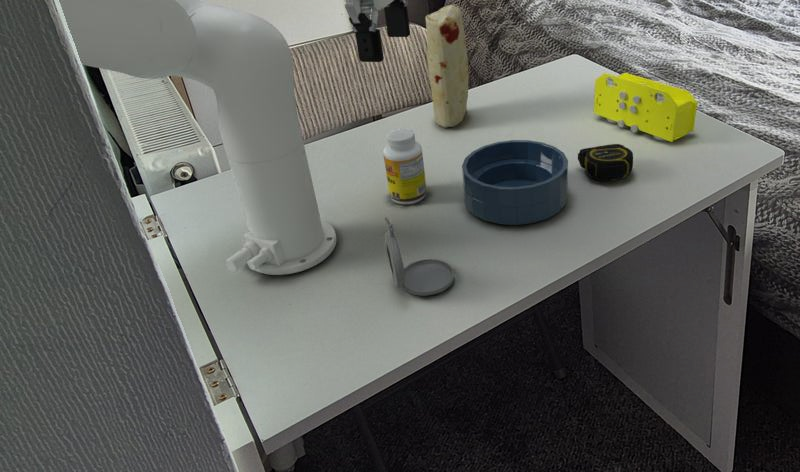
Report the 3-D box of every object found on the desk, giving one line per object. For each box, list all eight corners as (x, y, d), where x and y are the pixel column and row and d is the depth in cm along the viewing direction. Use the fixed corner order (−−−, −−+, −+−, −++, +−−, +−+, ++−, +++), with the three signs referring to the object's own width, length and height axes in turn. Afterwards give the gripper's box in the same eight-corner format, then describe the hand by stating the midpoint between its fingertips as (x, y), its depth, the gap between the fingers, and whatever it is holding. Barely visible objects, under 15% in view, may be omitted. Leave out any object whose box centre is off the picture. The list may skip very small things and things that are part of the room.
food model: (464, 132, 113) (456, 16, 102) (427, 131, 115) (415, 17, 104) (475, 109, 121) (469, -1, 110) (440, 109, 123) (431, 0, 112)
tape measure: (621, 160, 98) (623, 138, 96) (639, 182, 93) (641, 158, 91) (576, 167, 98) (577, 145, 96) (591, 189, 93) (593, 165, 91)
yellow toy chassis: (591, 118, 112) (593, 71, 107) (615, 108, 114) (618, 62, 109) (669, 147, 100) (675, 96, 95) (694, 135, 102) (701, 85, 98)
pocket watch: (465, 277, 79) (460, 207, 74) (417, 314, 75) (408, 242, 69) (417, 254, 84) (408, 187, 79) (370, 287, 80) (357, 218, 74)
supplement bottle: (387, 191, 99) (378, 129, 94) (423, 184, 100) (416, 122, 94) (393, 209, 95) (383, 145, 89) (430, 202, 95) (423, 138, 89)
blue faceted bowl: (541, 237, 84) (541, 197, 81) (447, 214, 92) (443, 177, 88) (582, 186, 94) (583, 148, 90) (493, 169, 101) (491, 134, 98)
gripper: (366, -103, 85) (384, 28, 95) (305, -78, 72) (333, 71, 82) (420, -108, 83) (433, 27, 92) (366, -83, 70) (388, 72, 79)
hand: (386, 48), depth 87 cm, fingers open, 9 cm apart
